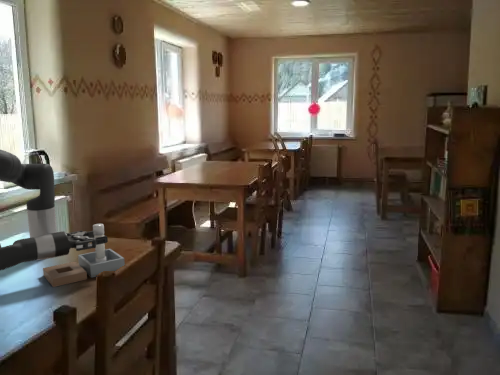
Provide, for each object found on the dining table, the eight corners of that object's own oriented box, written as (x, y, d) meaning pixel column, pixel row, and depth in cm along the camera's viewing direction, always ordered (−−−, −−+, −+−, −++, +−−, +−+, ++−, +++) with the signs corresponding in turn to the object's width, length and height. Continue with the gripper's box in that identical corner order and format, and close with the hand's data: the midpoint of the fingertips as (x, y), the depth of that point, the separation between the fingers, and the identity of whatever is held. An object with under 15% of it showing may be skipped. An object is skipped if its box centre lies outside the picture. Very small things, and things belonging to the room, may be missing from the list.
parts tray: (79, 266, 155) (78, 255, 154) (111, 259, 162) (110, 248, 161) (91, 277, 145) (90, 265, 144) (125, 269, 151) (124, 258, 151)
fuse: (94, 265, 153) (91, 224, 151) (104, 263, 155) (101, 223, 153) (97, 268, 151) (94, 226, 148) (108, 266, 153) (105, 225, 150)
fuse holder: (43, 275, 147) (42, 268, 147) (75, 268, 153) (75, 261, 153) (53, 287, 138) (52, 279, 137) (87, 279, 144) (86, 271, 143)
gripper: (55, 239, 136) (109, 229, 146) (44, 229, 147) (94, 220, 157) (58, 263, 138) (111, 252, 147) (46, 251, 149) (96, 242, 158)
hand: (102, 236), depth 152 cm, fingers open, 8 cm apart
